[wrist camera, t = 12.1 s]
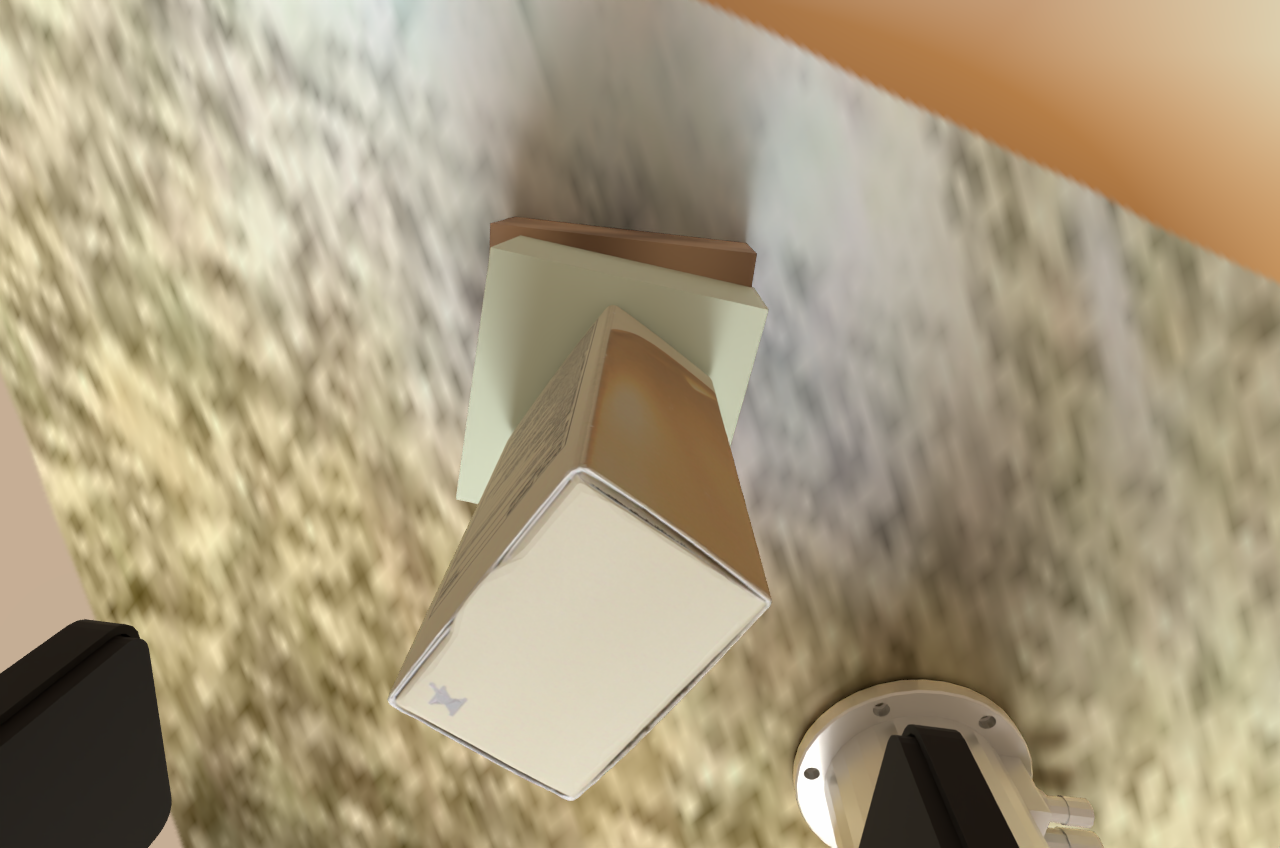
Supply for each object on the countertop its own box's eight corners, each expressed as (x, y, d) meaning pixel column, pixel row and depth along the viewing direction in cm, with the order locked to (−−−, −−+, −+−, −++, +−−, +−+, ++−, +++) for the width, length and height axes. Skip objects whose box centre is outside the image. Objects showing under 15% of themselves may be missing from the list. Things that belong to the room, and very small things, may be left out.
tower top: (753, 288, 26) (768, 310, 22) (697, 497, 30) (700, 552, 25) (520, 235, 26) (490, 247, 22) (487, 451, 29) (456, 499, 25)
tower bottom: (745, 242, 30) (756, 253, 26) (713, 454, 34) (718, 495, 29) (516, 216, 30) (490, 223, 26) (507, 430, 34) (482, 467, 30)
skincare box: (605, 507, 25) (565, 821, 14) (503, 438, 24) (369, 716, 13) (722, 371, 23) (788, 609, 12) (615, 290, 22) (574, 464, 11)
